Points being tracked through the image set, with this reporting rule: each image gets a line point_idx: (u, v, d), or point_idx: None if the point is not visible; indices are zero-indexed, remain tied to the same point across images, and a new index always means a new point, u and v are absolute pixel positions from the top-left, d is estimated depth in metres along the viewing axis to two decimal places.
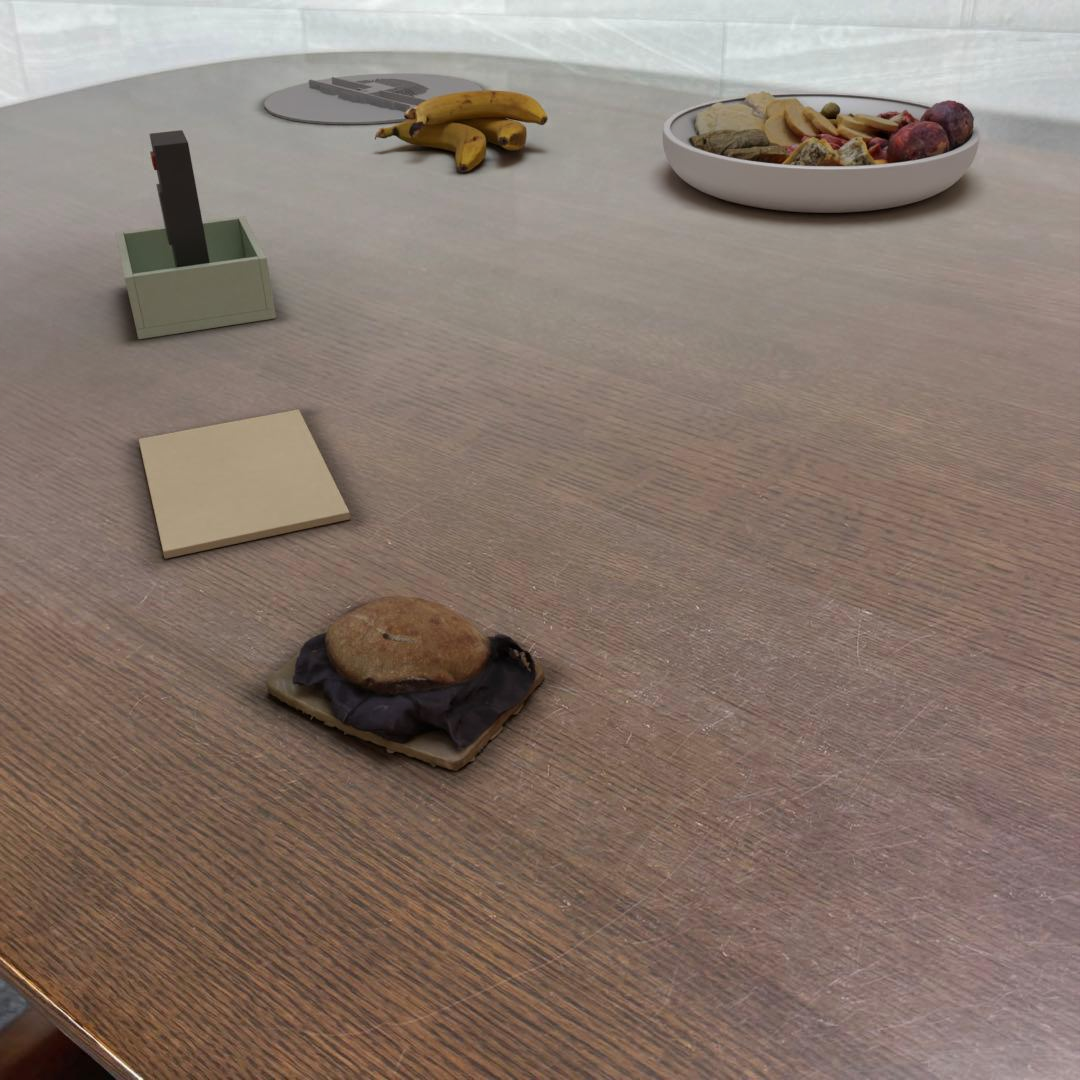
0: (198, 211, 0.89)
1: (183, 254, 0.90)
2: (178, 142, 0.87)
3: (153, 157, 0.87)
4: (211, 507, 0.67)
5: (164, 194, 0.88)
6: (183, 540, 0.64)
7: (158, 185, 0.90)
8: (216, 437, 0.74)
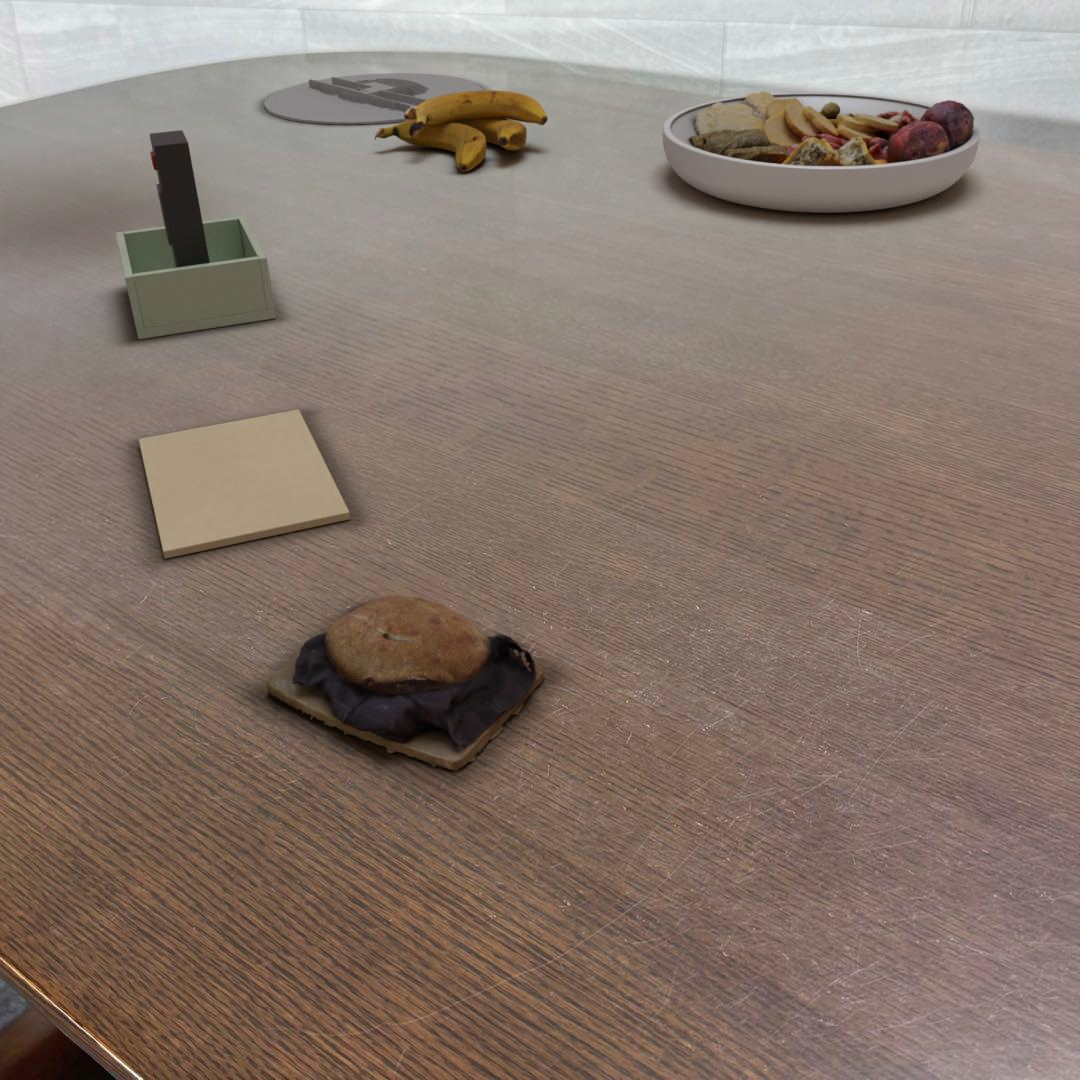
0: (198, 211, 0.89)
1: (183, 254, 0.90)
2: (178, 142, 0.87)
3: (153, 157, 0.87)
4: (211, 507, 0.67)
5: (164, 194, 0.88)
6: (183, 540, 0.64)
7: (158, 185, 0.90)
8: (216, 437, 0.74)
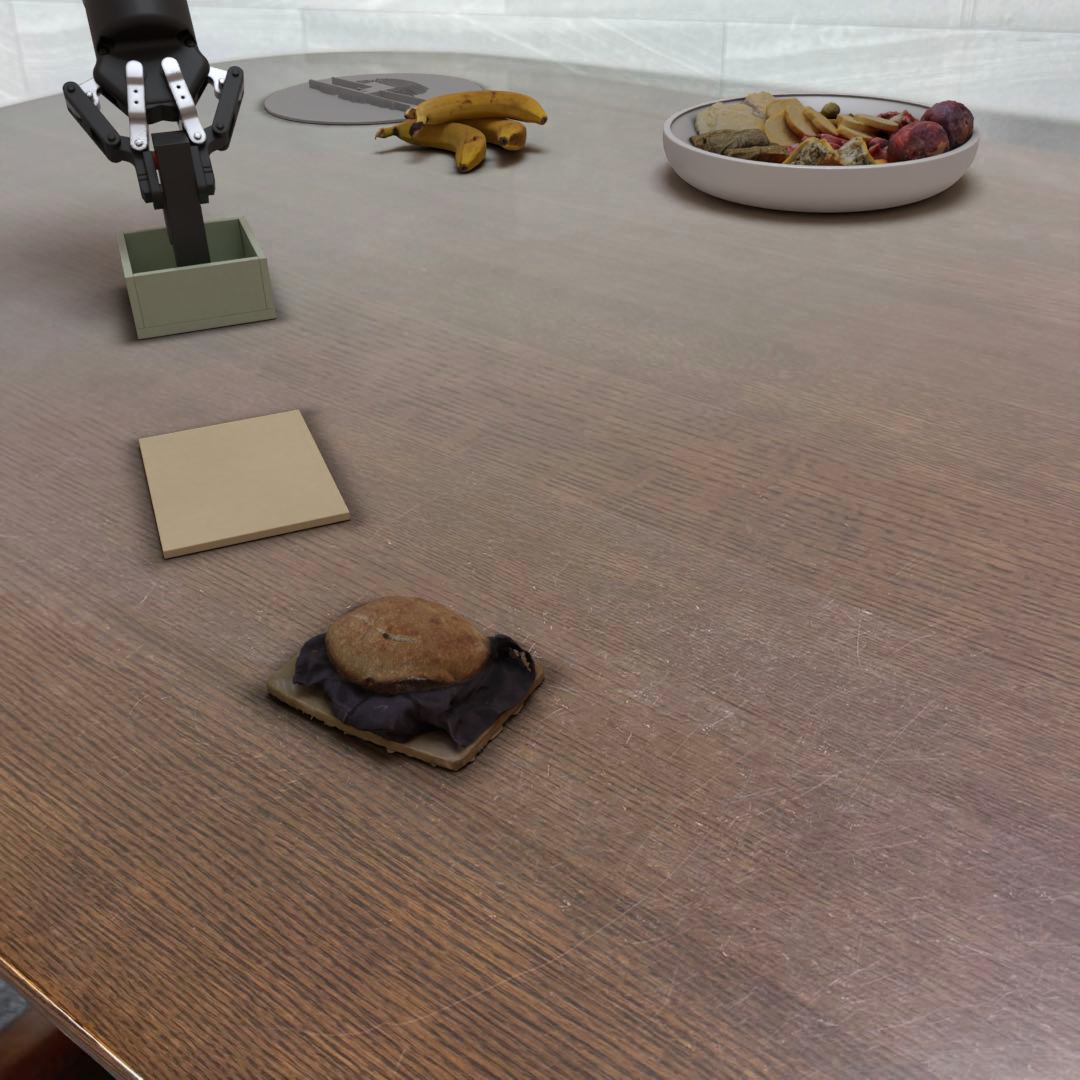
0: (199, 211, 0.89)
1: (184, 254, 0.90)
2: (179, 142, 0.87)
3: (154, 157, 0.88)
4: (211, 507, 0.67)
5: (165, 194, 0.88)
6: (183, 540, 0.64)
7: None
8: (216, 437, 0.74)
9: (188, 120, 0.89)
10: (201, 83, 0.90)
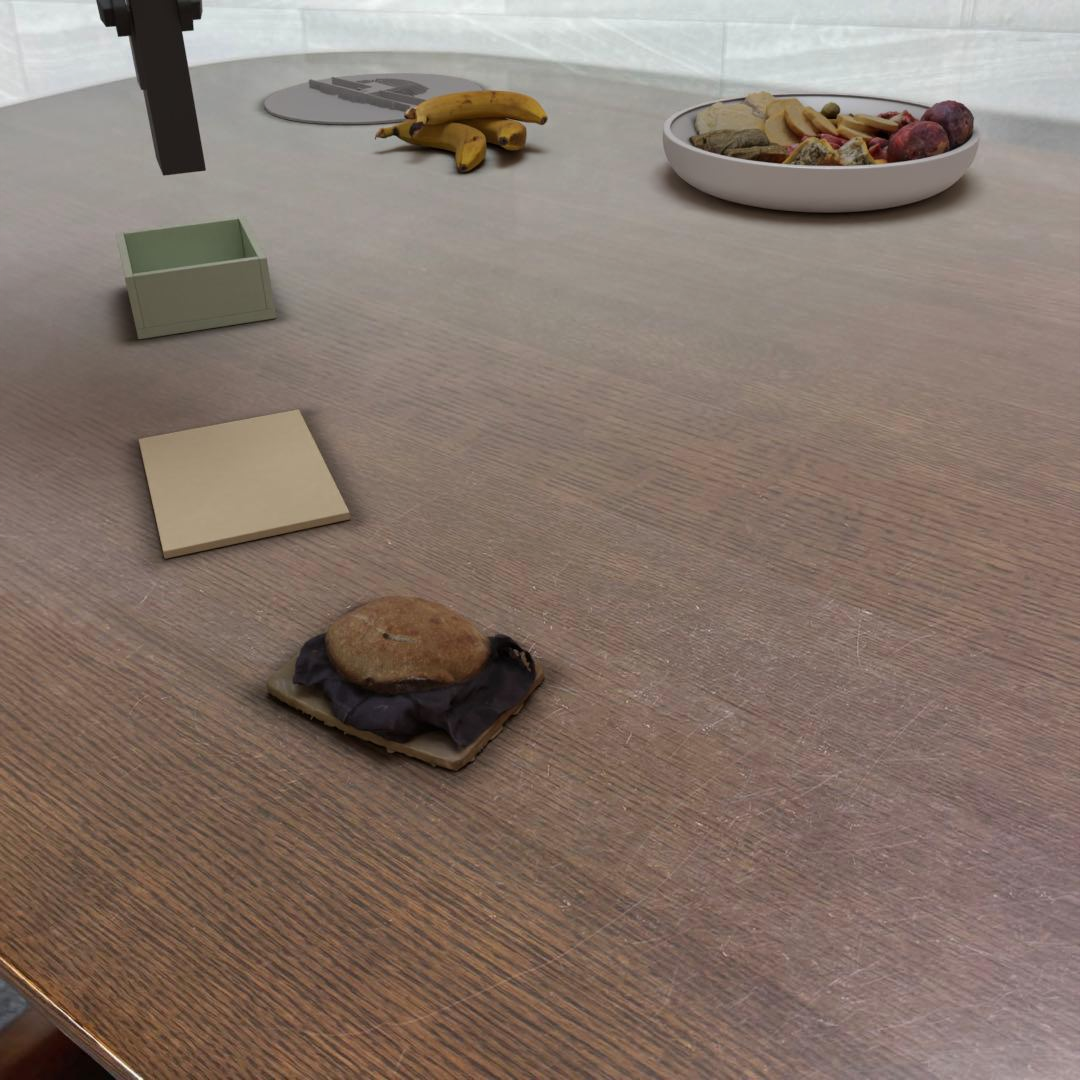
0: (180, 40, 0.65)
1: (160, 102, 0.66)
2: None
3: None
4: (211, 507, 0.67)
5: (133, 13, 0.63)
6: (183, 540, 0.64)
7: None
8: (216, 437, 0.74)
9: None
10: None
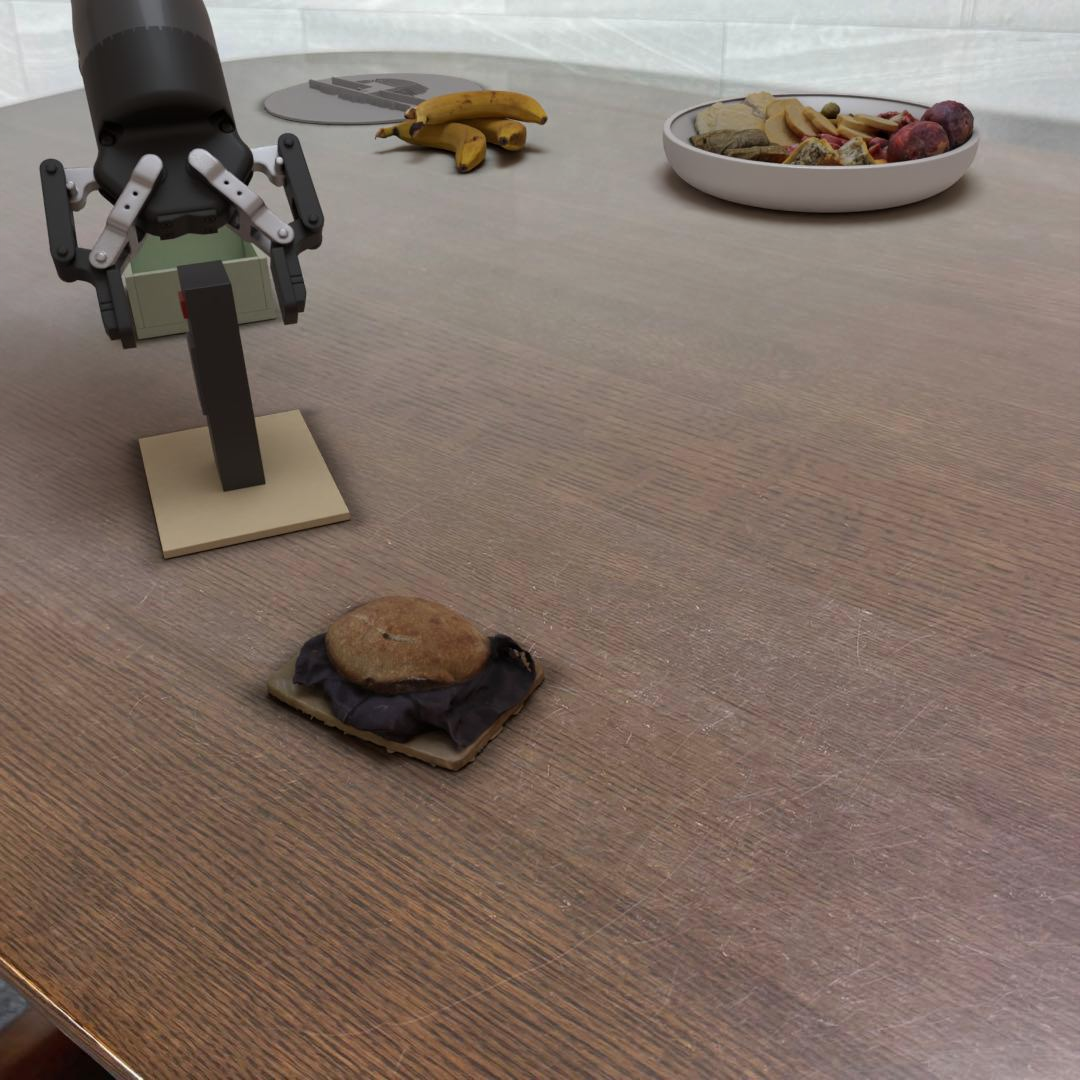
0: (243, 372, 0.65)
1: (222, 428, 0.66)
2: (218, 283, 0.62)
3: (182, 302, 0.63)
4: (211, 507, 0.67)
5: (197, 352, 0.64)
6: (183, 540, 0.64)
7: (188, 335, 0.66)
8: None
9: (260, 219, 0.65)
10: (242, 182, 0.66)
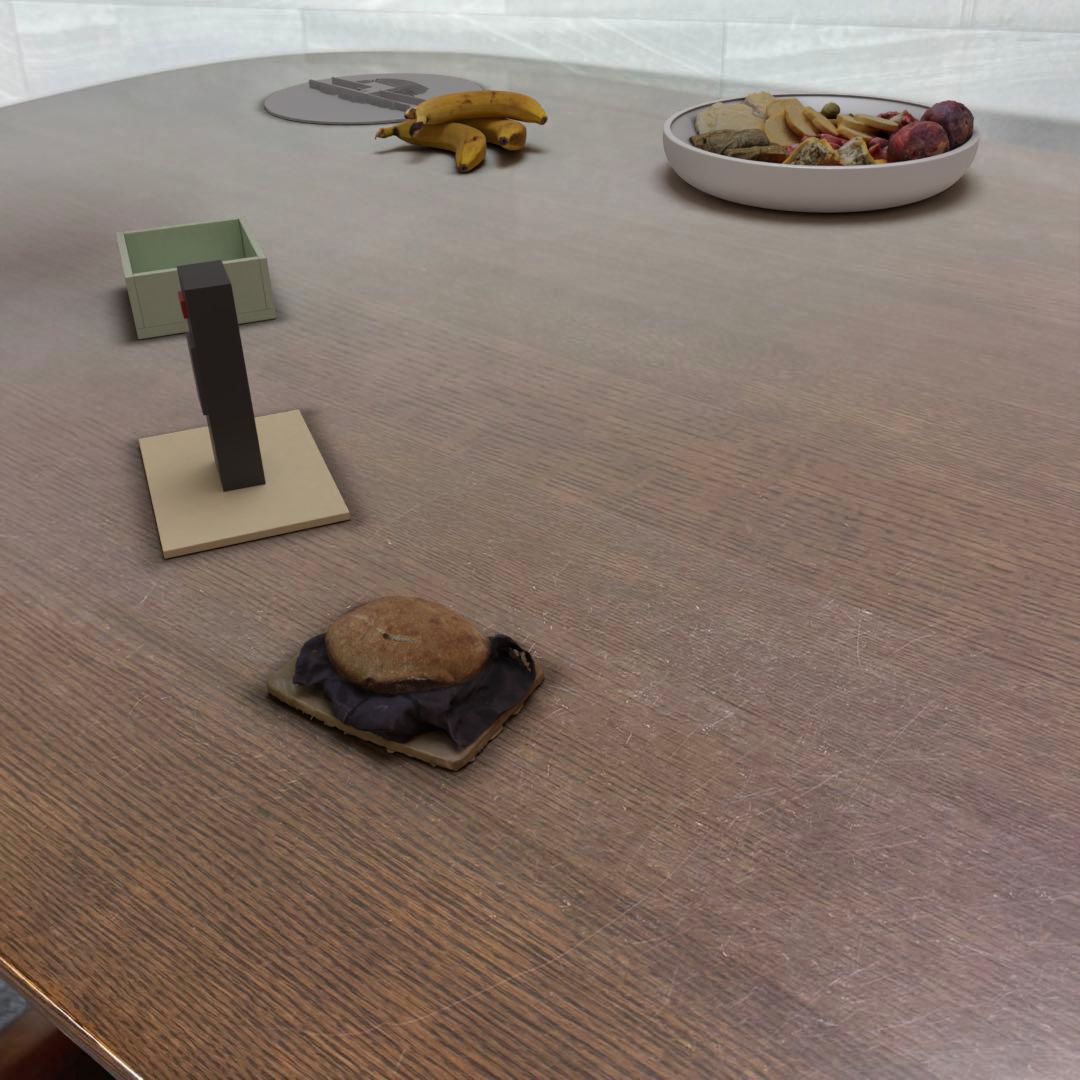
0: (243, 372, 0.65)
1: (222, 428, 0.66)
2: (218, 283, 0.62)
3: (182, 302, 0.63)
4: (211, 507, 0.67)
5: (197, 352, 0.64)
6: (183, 540, 0.64)
7: (188, 335, 0.66)
8: None
9: None
10: None
